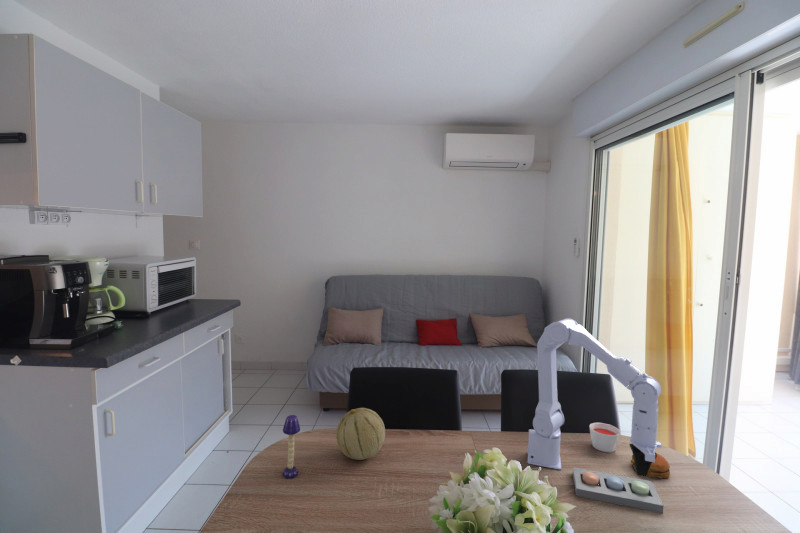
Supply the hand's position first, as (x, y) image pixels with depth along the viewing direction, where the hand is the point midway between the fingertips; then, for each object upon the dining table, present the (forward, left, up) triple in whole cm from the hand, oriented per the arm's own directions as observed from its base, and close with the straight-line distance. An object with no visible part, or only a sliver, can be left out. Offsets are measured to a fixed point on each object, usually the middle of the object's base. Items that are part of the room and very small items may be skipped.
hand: (641, 474), depth 108 cm
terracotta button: (-12, 0, -5) cm, 13 cm away
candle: (-5, +26, -6) cm, 27 cm away
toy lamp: (-91, -24, -6) cm, 94 cm away
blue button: (-6, 0, -5) cm, 8 cm away
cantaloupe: (-77, -8, -6) cm, 78 cm away
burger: (+6, +16, -7) cm, 18 cm away
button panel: (-6, 0, -6) cm, 9 cm away
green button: (0, 0, -5) cm, 5 cm away
